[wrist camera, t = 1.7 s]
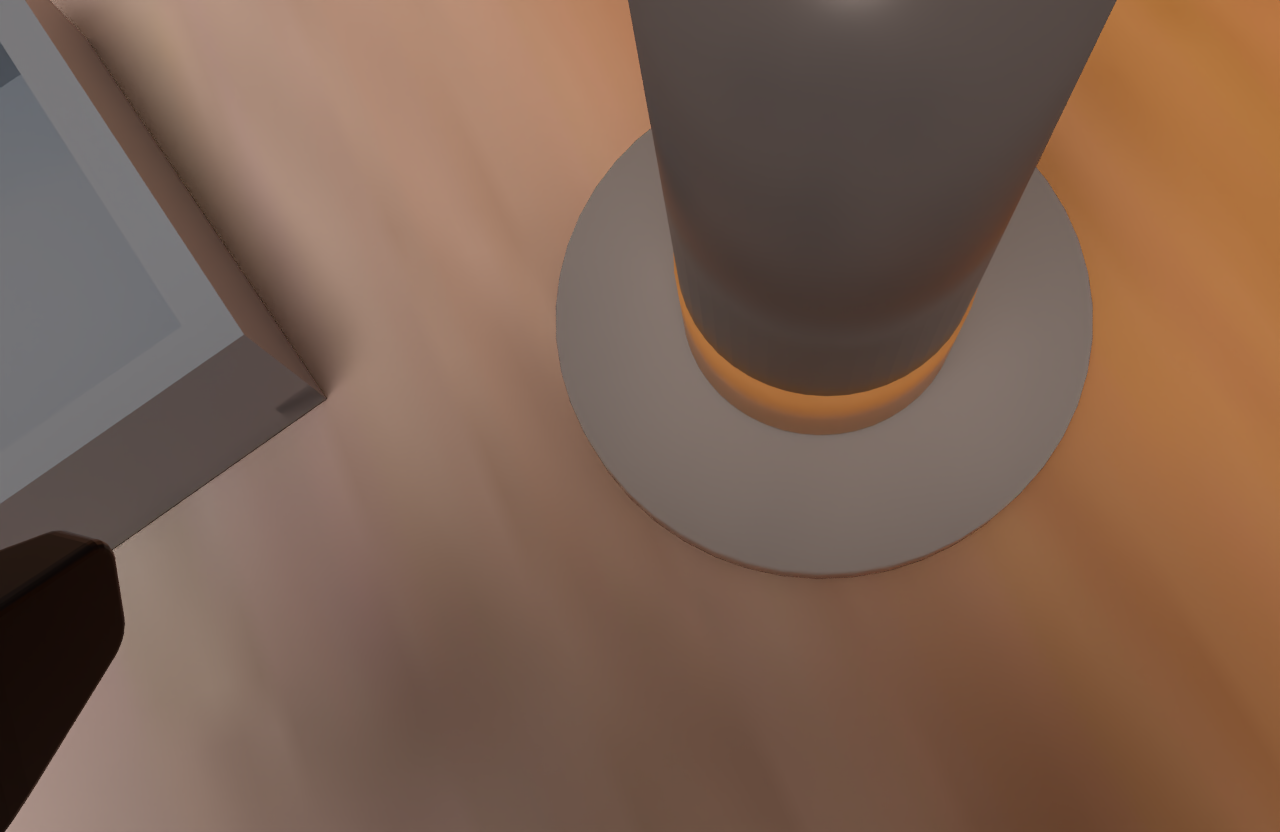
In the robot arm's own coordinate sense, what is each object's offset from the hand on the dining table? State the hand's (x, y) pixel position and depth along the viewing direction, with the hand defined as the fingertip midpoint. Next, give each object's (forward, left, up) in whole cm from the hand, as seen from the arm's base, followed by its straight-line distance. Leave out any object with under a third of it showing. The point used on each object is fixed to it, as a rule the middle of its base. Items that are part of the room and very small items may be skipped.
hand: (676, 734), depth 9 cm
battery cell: (+6, +5, -13) cm, 15 cm away
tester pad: (+6, +5, -14) cm, 16 cm away
